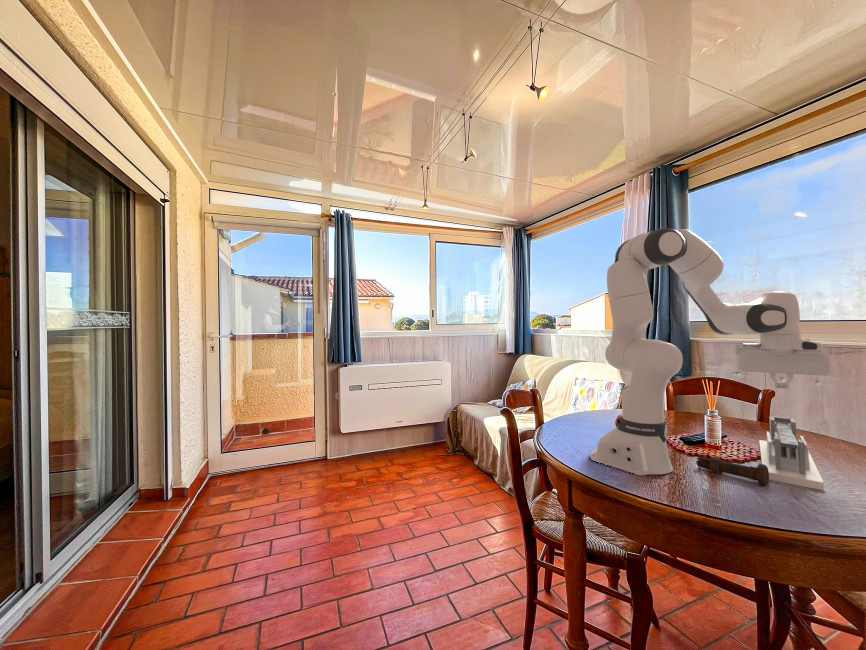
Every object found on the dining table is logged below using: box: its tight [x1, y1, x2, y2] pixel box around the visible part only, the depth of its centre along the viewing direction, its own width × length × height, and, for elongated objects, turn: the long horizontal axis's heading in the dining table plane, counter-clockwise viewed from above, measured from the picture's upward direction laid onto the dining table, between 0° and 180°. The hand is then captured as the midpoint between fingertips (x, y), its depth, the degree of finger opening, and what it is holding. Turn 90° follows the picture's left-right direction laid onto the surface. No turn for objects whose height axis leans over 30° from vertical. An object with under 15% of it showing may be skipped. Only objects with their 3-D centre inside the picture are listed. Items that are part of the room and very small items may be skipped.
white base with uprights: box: [758, 415, 825, 491], centre depth 101 cm, size 11×32×11 cm, turn 137°
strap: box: [775, 422, 798, 449], centre depth 101 cm, size 3×24×1 cm, turn 137°
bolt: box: [695, 456, 770, 488], centre depth 95 cm, size 6×5×15 cm
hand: (781, 387), depth 106 cm, fingers closed
